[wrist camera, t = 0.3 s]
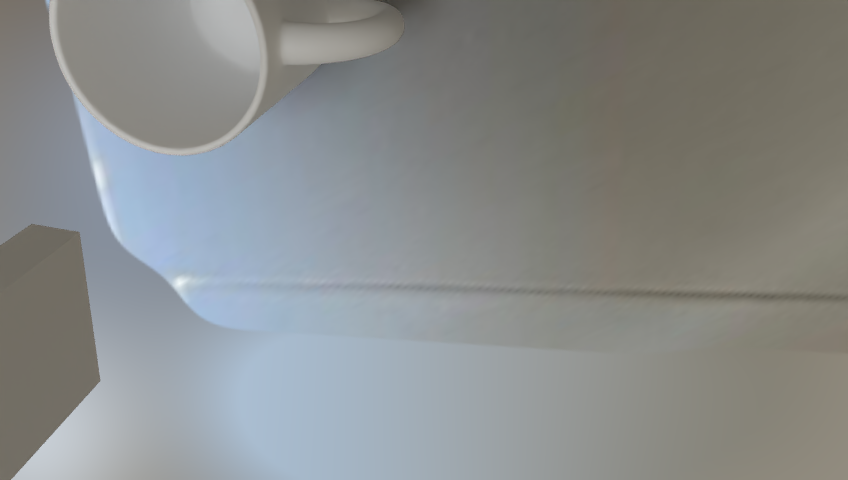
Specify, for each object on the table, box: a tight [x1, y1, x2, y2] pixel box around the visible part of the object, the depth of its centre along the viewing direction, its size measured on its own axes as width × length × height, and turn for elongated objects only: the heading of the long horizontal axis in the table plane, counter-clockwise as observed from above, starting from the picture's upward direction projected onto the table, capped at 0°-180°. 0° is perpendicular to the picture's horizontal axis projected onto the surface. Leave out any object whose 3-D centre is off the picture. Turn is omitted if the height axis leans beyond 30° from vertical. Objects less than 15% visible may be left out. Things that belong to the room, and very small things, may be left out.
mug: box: [49, 0, 405, 155], centre depth 32 cm, size 12×8×10 cm
